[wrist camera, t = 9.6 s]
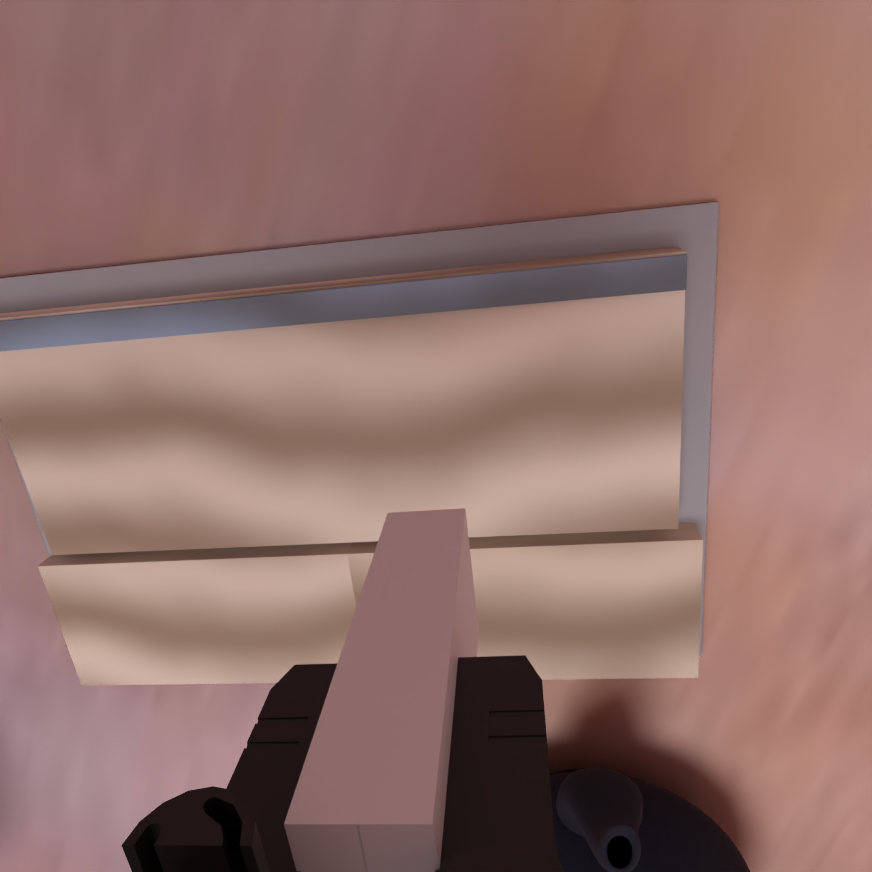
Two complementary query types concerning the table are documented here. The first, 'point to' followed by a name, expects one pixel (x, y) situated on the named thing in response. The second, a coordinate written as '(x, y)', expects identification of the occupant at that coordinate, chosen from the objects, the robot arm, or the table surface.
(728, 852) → the teapot
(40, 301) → the tray
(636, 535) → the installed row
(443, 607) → the robot arm
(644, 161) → the table surface
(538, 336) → the plank
